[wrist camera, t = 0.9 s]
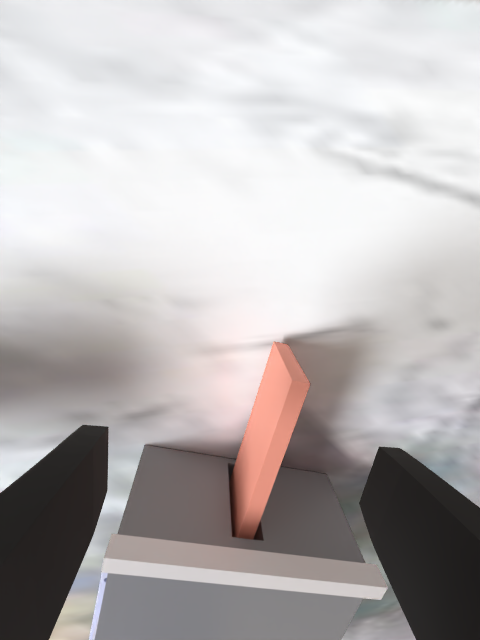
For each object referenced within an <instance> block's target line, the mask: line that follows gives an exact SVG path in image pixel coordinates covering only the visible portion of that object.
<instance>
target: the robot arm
mask: <svg viewBox="0 0 480 640" xmlns="http://www.w3.org/2000/svg"><path fill="white" fill-rule="evenodd" d="M107 480H108V427H104V426H91V425H82V426H81V427H80V428H78V429H77V430H76V431H75V432H73V433H72V434H71V435H70V436H69V437H67V438H66V439H65V440H64V441H63V442H62V443H60V444H59V445H58V446H57V447H56V448H55V449H53V450H52V451H51V452H50V453H49V454H48V455H46V456H45V457H44V458H43V459H42V460H40V461H39V462H38V463H37V464H36V465H34V466H33V467H32V468H31V469H30V470H28V471H27V472H26V473H25V474H23V475H22V476H21V477H20V478H18V479H17V480H16V481H15V482H13V483H12V484H11V485H10V486H9V487H7V488H6V489H5V490H4V491H2V492H1V493H0V640H49V638H50V636H51V633H52V631H53V629H54V626H55V624H56V622H57V619H58V617H59V615H60V612H61V610H62V608H63V605H64V603H65V601H66V598H67V596H68V593H69V591H70V589H71V586H72V584H73V582H74V579H75V577H76V575H77V572H78V570H79V568H80V565H81V563H82V561H83V558H84V556H85V553H86V551H87V549H88V546H89V544H90V542H91V539H92V537H93V534H94V531H95V528H96V525H97V522H98V519H99V516H100V512H101V509H102V506H103V503H104V499H105V496H106V493H107ZM359 504H360V507H361V510H362V513H363V517H364V520H365V523H366V526H367V529H368V532H369V535H370V538H371V541H372V543H373V546H374V548H375V551H376V553H377V555H378V557H379V560H380V562H381V564H382V566H383V568H384V571H385V573H386V575H387V577H388V579H389V582H390V584H391V586H392V588H393V590H394V593H395V595H396V597H397V599H398V601H399V603H400V606H401V608H402V610H403V612H404V614H405V616H406V619H407V621H408V623H409V625H410V627H411V629H412V632H413V634H414V636H415V638H416V640H480V508H479V507H478V506H477V505H475V504H474V503H473V502H471V501H470V500H469V499H468V498H466V497H465V496H464V495H462V494H461V493H460V492H458V491H457V490H456V489H454V488H453V487H452V486H451V485H449V484H448V483H447V482H445V481H444V480H443V479H441V478H440V477H439V476H438V475H436V474H435V473H434V472H432V471H431V470H430V469H428V468H427V467H426V466H424V465H423V464H422V463H420V462H419V461H418V460H416V459H415V458H413V457H412V456H411V455H409V454H408V453H406V452H405V451H403V450H402V449H400V448H390V447H379V449H378V451H377V454H376V457H375V460H374V463H373V466H372V468H371V471H370V474H369V477H368V480H367V483H366V485H365V488H364V491H363V494H362V497H361V500H360V502H359ZM107 575H108V573H103V572H102V574H101V579H100V585H99V590H98V595H97V600H96V606H95V611H94V616H93V621H92V626H91V632H90V637H89V640H95V635H96V630H97V625H98V620H99V615H100V610H101V605H102V600H103V595H104V590H105V585H106V580H107Z"/></svg>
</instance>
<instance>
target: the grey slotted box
mask: <svg viewBox="0 0 480 640" xmlns="http://www.w3.org/2000/svg"><path fill="white" fill-rule="evenodd" d="M235 462H236V459H230V458H224V457H217V456H211V455H205V454H199V453H192V452H186V451H180V450H174V449H168V448H161V447H155V446H149V445H145V446H144V449H143V452H142V455H141V459H140V462H139V465H138V469H137V472H136V475H135V478H134V482H133V485H132V488H131V491H130V495H129V498H128V501H127V505H126V508H125V511H124V514H123V518H122V521H121V524H120V528H119V531H118V534H111V537H110V540H109V544H108V547H107V550H106V553H105V556H104V560H103V565H102V570H101V572H103V573H108V575H107V580H106V585H105V590H104V595H103V600H102V605H101V610H100V615H99V620H98V625H97V630H96V635H95V640H341V639H342V637H343V635H344V634H345V632H346V630H347V628H348V626H349V624H350V623H351V621H352V619H353V617H354V615H355V613H356V611H357V610H358V608H359V606H360V604H361V602H362V600H363V598H367V599H377V600H381V599H382V597H383V595H384V594H385V592H386V590H387V588H388V587H387V585H386V583H385V581H384V579H383V577H382V575H381V572H380V570H379V568H378V566H377V565H376V564H367V563H365V561H364V558H363V556H362V554H361V552H360V549H359V547H358V545H357V542H356V540H355V538H354V536H353V533H352V531H351V529H350V526H349V524H348V522H347V519H346V517H345V515H344V513H343V510H342V508H341V506H340V503H339V501H338V499H337V497H336V494H335V492H334V490H333V487H332V485H331V483H330V481H329V478H328V476H327V474H323V473H317V472H311V471H304V470H298V469H292V468H286V467H280V468H279V471H278V474H277V476H276V479H275V482H274V484H273V487H272V490H271V493H270V495H269V498H268V501H267V503H266V506H265V509H264V512H263V514H262V517H261V520H260V522H259V525H258V528H257V531H256V533H255V536H254V539H244V538H236V537H232V529H231V511H230V492H229V481H230V478H231V475H232V472H233V469H234V466H235Z"/></svg>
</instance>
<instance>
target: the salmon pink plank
mask: <svg viewBox="0 0 480 640" xmlns="http://www.w3.org/2000/svg"><path fill="white" fill-rule="evenodd" d="M309 387H310V382H309V381H308V379H307V377H306V375H305V374H304V372H303V370H302V368H301V367H300V365H299V363H298V362H297V360H296V358H295V356H294V355H293V353H292V351H291V349H290V348H289V346H288V344H283V343H279V342H273V346H272V349H271V352H270V355H269V358H268V361H267V364H266V368H265V371H264V374H263V377H262V380H261V383H260V387H259V390H258V393H257V396H256V399H255V402H254V406H253V409H252V412H251V415H250V418H249V421H248V424H247V428H246V431H245V434H244V437H243V440H242V443H241V447H240V450H239V453H238V456H237V459H236V462H235V466H234V469H233V472H232V475H231V478H230V481H229V492H230V511H231V529H232V537H236V538H244V539H254V536H255V533H256V531H257V528H258V525H259V522H260V520H261V517H262V514H263V512H264V509H265V506H266V503H267V501H268V498H269V495H270V493H271V490H272V487H273V484H274V482H275V479H276V476H277V474H278V471H279V468H280V465H281V463H282V460H283V457H284V455H285V452H286V449H287V446H288V444H289V441H290V438H291V435H292V433H293V430H294V427H295V425H296V422H297V419H298V416H299V414H300V411H301V408H302V406H303V403H304V400H305V397H306V395H307V392H308V389H309Z"/></svg>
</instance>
